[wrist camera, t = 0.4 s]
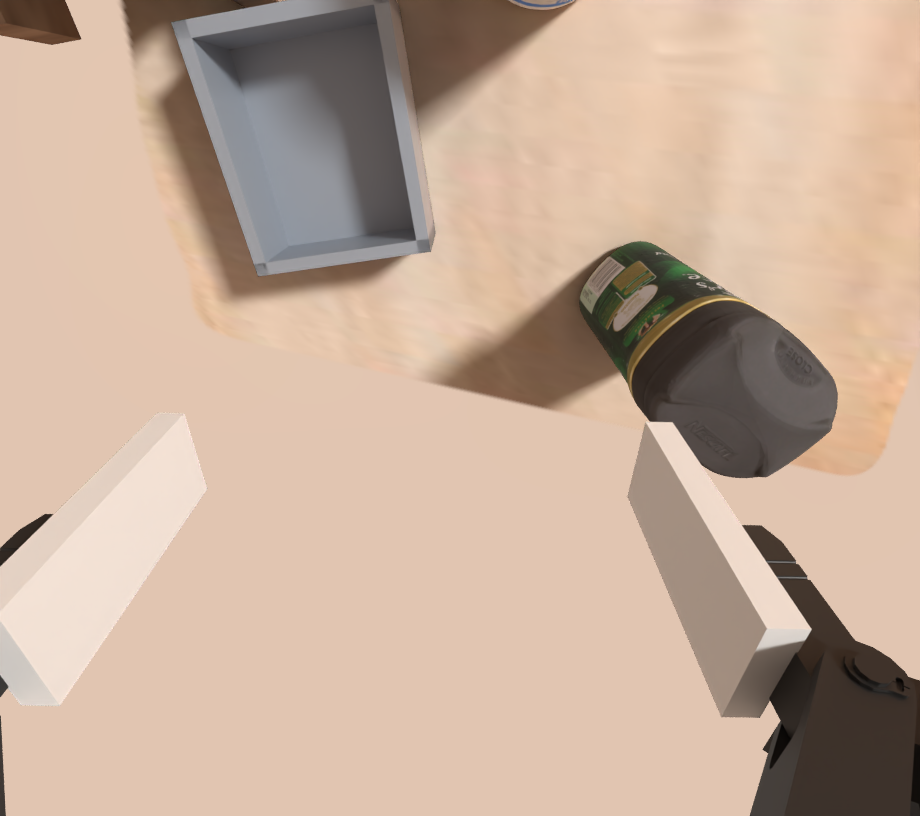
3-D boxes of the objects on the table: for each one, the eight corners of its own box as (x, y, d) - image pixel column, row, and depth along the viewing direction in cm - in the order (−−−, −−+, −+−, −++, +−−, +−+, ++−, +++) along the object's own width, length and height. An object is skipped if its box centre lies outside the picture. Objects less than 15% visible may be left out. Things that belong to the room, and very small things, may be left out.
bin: (219, 38, 32) (170, 22, 26) (399, 5, 31) (385, -19, 26) (286, 255, 38) (258, 276, 33) (435, 233, 37) (430, 251, 32)
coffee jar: (718, 296, 40) (891, 417, 24) (642, 368, 43) (749, 517, 27) (634, 218, 37) (765, 293, 21) (559, 301, 40) (624, 422, 24)
